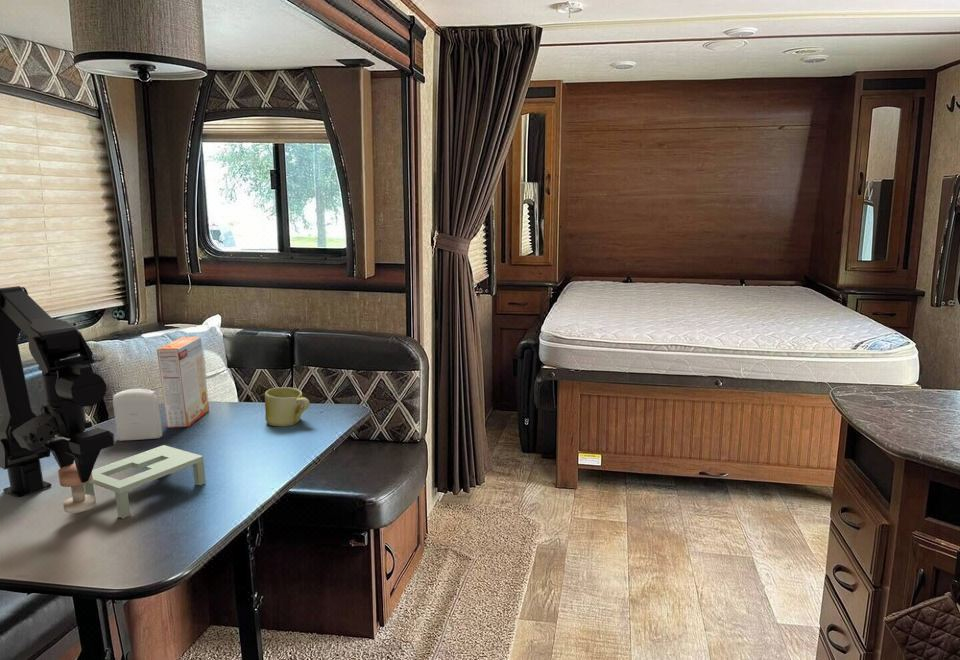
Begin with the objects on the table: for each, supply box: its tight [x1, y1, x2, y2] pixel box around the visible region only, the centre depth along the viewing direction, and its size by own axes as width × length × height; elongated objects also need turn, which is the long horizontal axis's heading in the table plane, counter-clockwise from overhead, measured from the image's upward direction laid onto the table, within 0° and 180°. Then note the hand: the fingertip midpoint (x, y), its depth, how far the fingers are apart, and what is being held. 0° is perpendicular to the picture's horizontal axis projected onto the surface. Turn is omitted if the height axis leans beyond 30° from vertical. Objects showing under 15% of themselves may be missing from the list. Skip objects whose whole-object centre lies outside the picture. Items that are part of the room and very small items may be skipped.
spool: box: [57, 463, 97, 514], centre depth 130 cm, size 5×5×8 cm
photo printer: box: [112, 388, 163, 442], centre depth 173 cm, size 10×4×12 cm, turn 96°
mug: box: [264, 386, 311, 427], centre depth 183 cm, size 12×10×10 cm
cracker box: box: [156, 336, 210, 429], centre depth 186 cm, size 14×6×21 cm, turn 178°
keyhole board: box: [83, 444, 207, 519], centre depth 142 cm, size 13×18×6 cm
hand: (76, 479), depth 130 cm, fingers closed on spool, 5 cm apart
